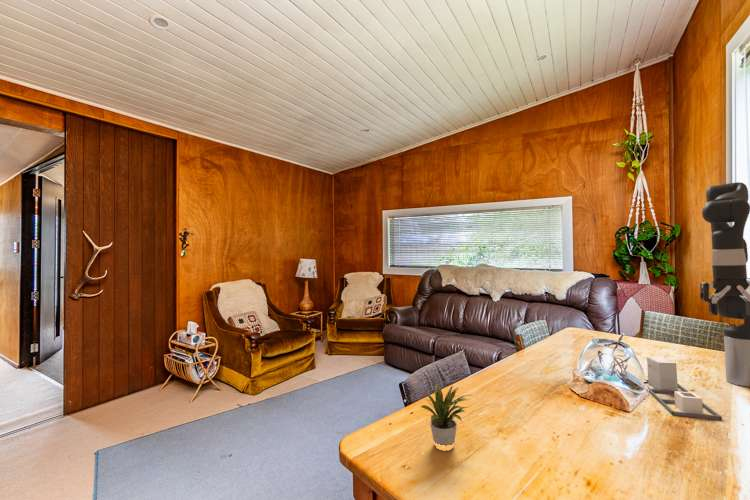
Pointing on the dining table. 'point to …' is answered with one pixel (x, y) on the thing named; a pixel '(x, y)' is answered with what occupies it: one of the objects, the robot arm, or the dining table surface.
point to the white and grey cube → (688, 402)
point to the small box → (662, 373)
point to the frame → (663, 401)
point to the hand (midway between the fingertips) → (731, 315)
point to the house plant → (444, 416)
